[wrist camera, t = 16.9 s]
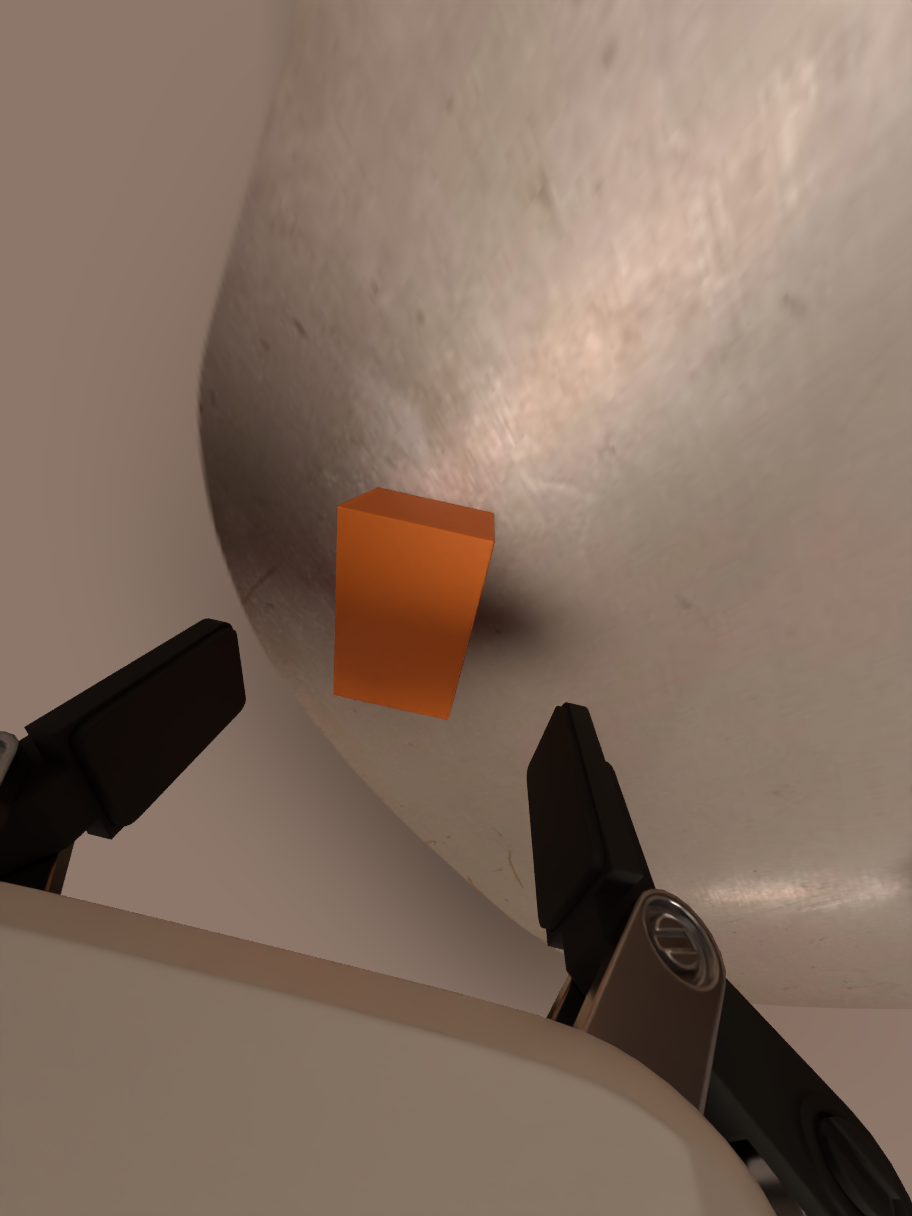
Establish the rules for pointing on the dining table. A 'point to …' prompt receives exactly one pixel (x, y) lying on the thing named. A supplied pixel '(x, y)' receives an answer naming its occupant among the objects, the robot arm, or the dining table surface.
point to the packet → (406, 598)
